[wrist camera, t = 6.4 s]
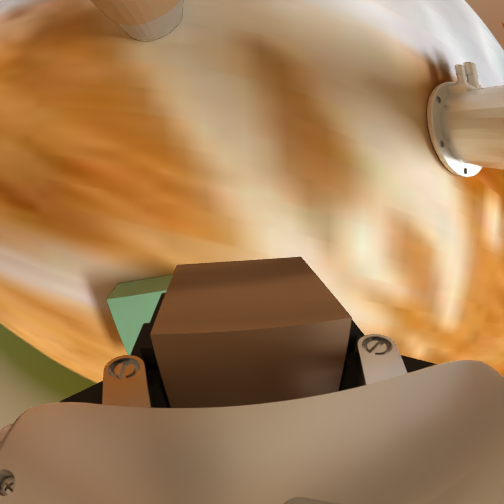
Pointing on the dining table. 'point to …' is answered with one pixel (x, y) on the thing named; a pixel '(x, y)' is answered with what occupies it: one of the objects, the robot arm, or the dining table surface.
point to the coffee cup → (143, 16)
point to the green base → (135, 306)
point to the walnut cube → (249, 334)
